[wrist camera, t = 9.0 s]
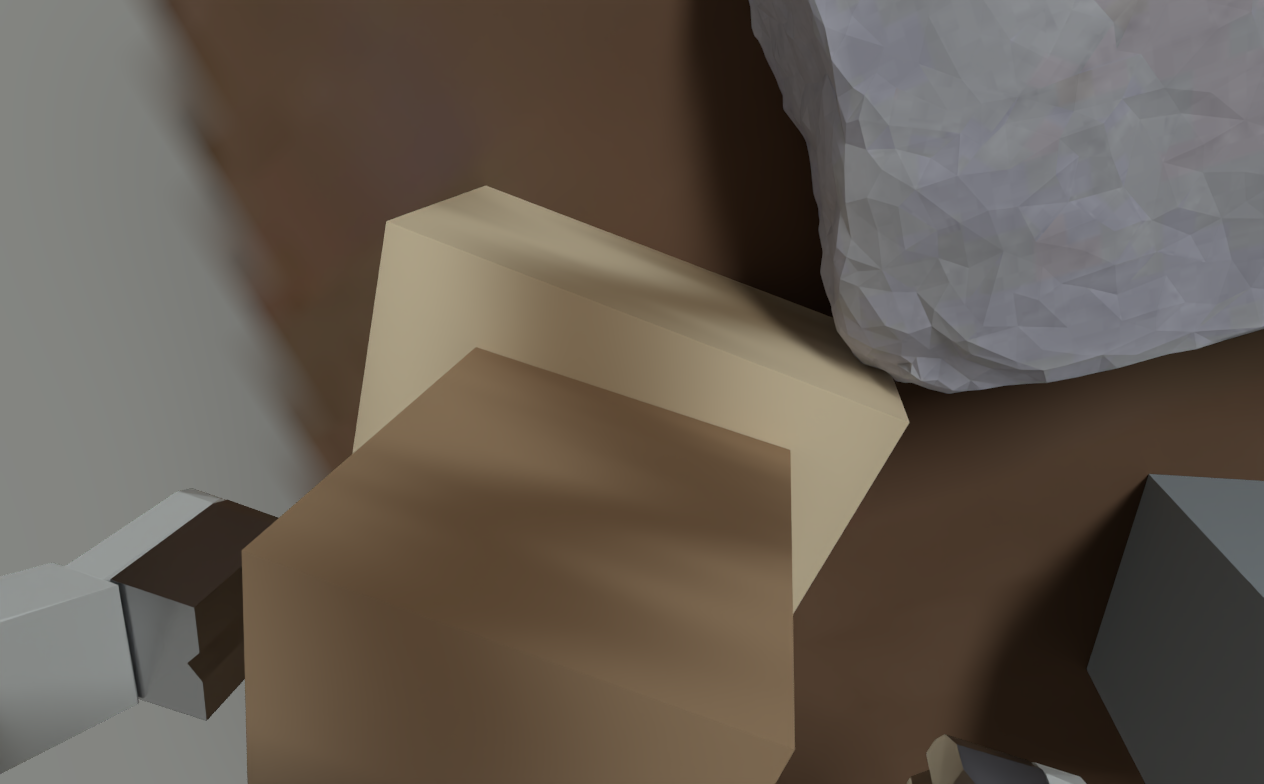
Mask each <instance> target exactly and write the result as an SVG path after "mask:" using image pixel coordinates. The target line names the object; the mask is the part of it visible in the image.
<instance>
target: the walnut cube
mask: <svg viewBox="0 0 1264 784" xmlns="http://www.w3.org/2000/svg"><path fill="white" fill-rule="evenodd" d="M242 584H243V622H244V660H245V694H246V695H245V697H246V734H247V736H246V737H247V775H248V784H775V783H776V781H777V780H778V778H779V776H780V775H781V773H782V771H783V769H784V768H785V766H786V764H787V762H788V761H789V759H790V757H791V756H792V754H793V752H794V750H795V723H794V655H793V588H792V520H791V453H790V450H789V449H786V448H783V447H780V446H777V445H774V444H771V443H767V442H764V441H761V440H758V439H755V438H752V437H749V436H746V435H743V434H740V433H737V432H734V431H731V430H728V429H725V428H722V427H719V426H716V425H712V424H709V423H706V422H703V421H700V420H697V419H694V418H691V417H688V416H685V415H682V414H679V413H676V412H673V411H670V410H667V409H664V408H661V407H658V406H654V405H651V404H648V403H645V402H642V401H639V400H636V399H633V398H630V397H627V396H624V395H621V394H618V393H615V392H612V391H609V390H606V389H603V388H600V387H596V386H593V385H590V384H587V383H584V382H581V381H578V380H575V379H572V378H569V377H566V376H563V375H560V374H557V373H554V372H551V371H548V370H545V369H542V368H538V367H535V366H532V365H529V364H526V363H523V362H520V361H517V360H514V359H511V358H508V357H505V356H502V355H499V354H496V353H493V352H490V351H487V350H484V349H480V348H477V347H475V348H474V349H473V350H472V351H471V352H469V353H468V354H467V355H466V356H465V357H464V358H463V359H461V360H460V361H459V362H458V363H457V364H456V365H455V366H453V367H452V368H451V369H450V370H449V371H448V372H446V373H445V374H444V375H443V376H442V377H441V378H440V379H438V380H437V381H436V382H435V383H434V384H433V385H431V386H430V387H429V388H428V389H427V390H426V391H425V392H423V393H422V394H421V395H420V396H419V397H418V398H417V399H415V400H414V401H413V402H412V403H411V404H410V405H408V406H407V407H406V408H405V409H404V410H403V411H402V412H400V413H399V414H398V415H397V416H396V417H395V418H393V419H392V420H391V421H390V422H389V423H388V424H387V425H385V426H384V427H383V428H382V429H381V430H380V431H379V432H377V433H376V434H375V435H374V436H373V437H372V438H370V439H369V440H368V441H367V442H366V443H365V444H364V445H362V446H361V447H360V448H359V449H358V450H357V451H355V452H354V453H353V454H352V455H351V456H350V457H349V458H347V459H346V460H345V461H344V462H343V463H342V464H341V465H339V466H338V467H337V468H336V469H335V470H334V471H332V472H331V473H330V474H329V475H328V476H327V477H326V478H324V479H323V480H322V481H321V482H320V483H319V484H317V485H316V486H315V487H314V488H313V489H312V490H311V491H309V492H308V493H307V494H306V495H305V496H304V497H303V498H301V499H300V500H299V501H298V502H297V503H296V504H294V505H293V506H292V507H291V508H290V509H289V510H288V511H287V512H285V513H284V514H283V515H282V516H281V517H279V518H278V519H277V520H276V521H275V522H274V523H273V524H271V525H270V526H269V527H268V528H267V529H266V530H265V531H263V532H262V533H261V534H260V535H259V536H258V537H256V538H255V539H254V540H253V541H252V542H251V543H250V544H248V545H247V546H246V547H245V548H244V549H243V550H242Z"/></svg>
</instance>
